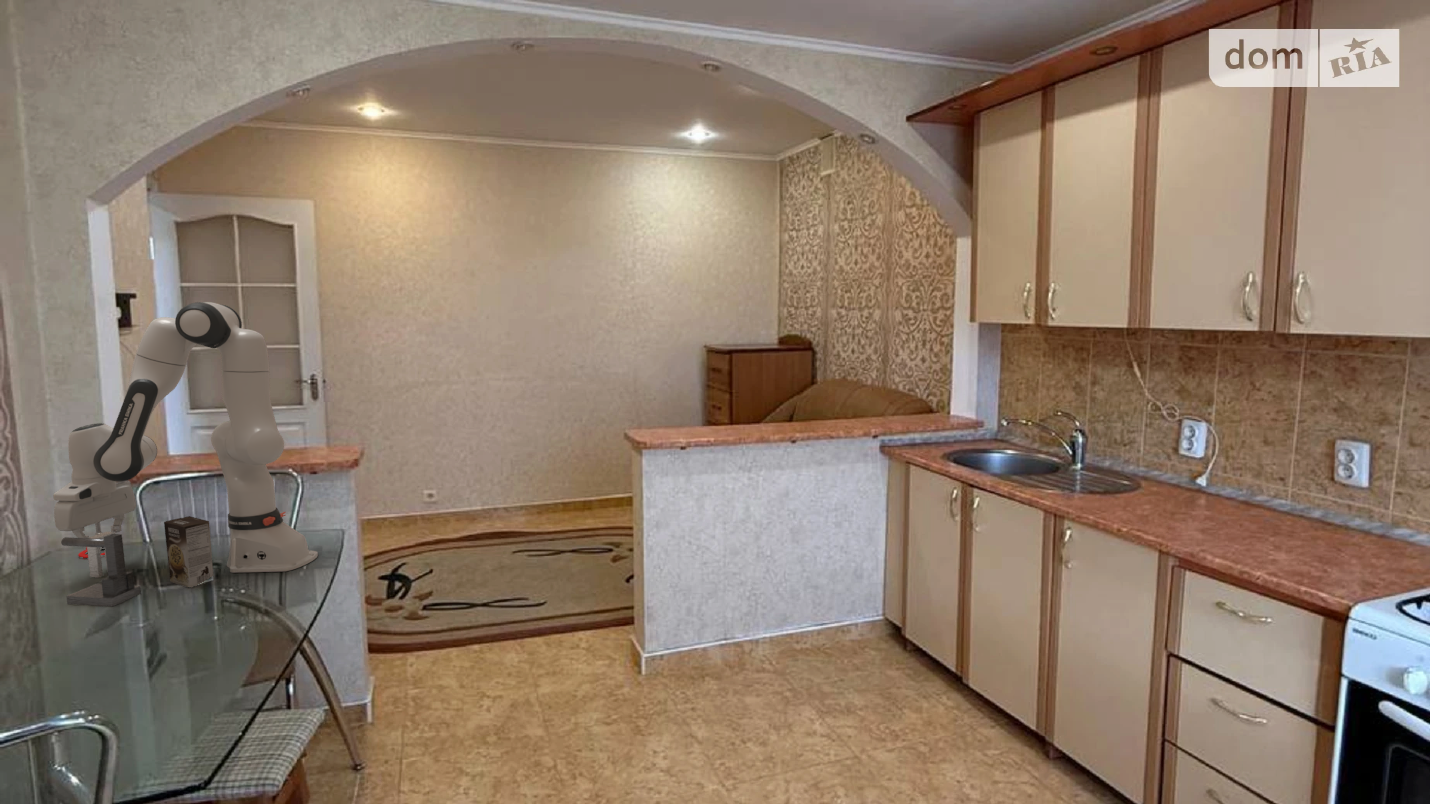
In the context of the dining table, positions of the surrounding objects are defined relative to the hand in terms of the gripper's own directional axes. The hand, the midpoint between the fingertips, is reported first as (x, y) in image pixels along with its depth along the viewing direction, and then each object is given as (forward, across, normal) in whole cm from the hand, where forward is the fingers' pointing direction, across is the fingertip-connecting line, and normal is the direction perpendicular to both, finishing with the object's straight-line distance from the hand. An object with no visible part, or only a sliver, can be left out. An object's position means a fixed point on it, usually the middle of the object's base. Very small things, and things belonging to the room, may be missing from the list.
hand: (100, 537), depth 203 cm
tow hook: (+10, -14, -16) cm, 24 cm away
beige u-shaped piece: (+10, 0, 0) cm, 10 cm away
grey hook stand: (+10, +15, +14) cm, 22 cm away
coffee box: (+10, +2, +27) cm, 29 cm away
